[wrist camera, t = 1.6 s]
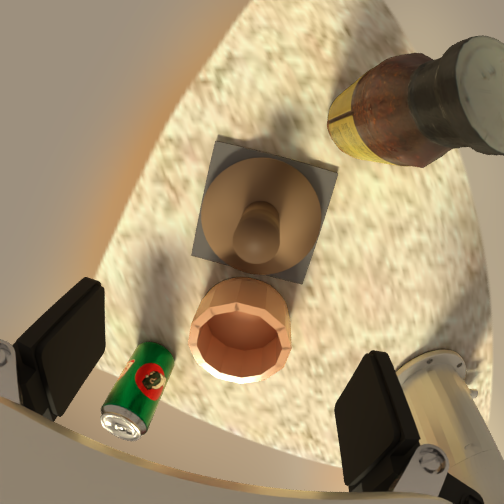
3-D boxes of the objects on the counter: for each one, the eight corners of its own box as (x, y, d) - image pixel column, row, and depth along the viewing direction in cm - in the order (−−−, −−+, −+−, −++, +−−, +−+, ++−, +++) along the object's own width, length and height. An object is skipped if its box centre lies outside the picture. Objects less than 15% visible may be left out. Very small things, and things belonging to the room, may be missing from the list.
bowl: (300, 290, 31) (303, 318, 26) (274, 358, 34) (273, 390, 29) (209, 266, 31) (197, 291, 26) (195, 338, 34) (183, 368, 29)
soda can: (137, 333, 35) (94, 404, 23) (177, 346, 35) (144, 423, 24) (136, 363, 36) (99, 431, 25) (173, 375, 37) (144, 449, 25)
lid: (333, 176, 26) (352, 189, 19) (300, 280, 30) (305, 322, 23) (217, 145, 26) (197, 148, 19) (194, 253, 30) (172, 287, 23)
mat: (337, 173, 27) (338, 173, 26) (301, 282, 30) (302, 284, 30) (216, 141, 26) (215, 141, 26) (192, 253, 30) (191, 255, 30)
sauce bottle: (390, 159, 26) (554, 216, 7) (324, 157, 26) (426, 207, 8) (389, 90, 23) (550, 46, 5) (322, 85, 24) (414, -11, 5)
